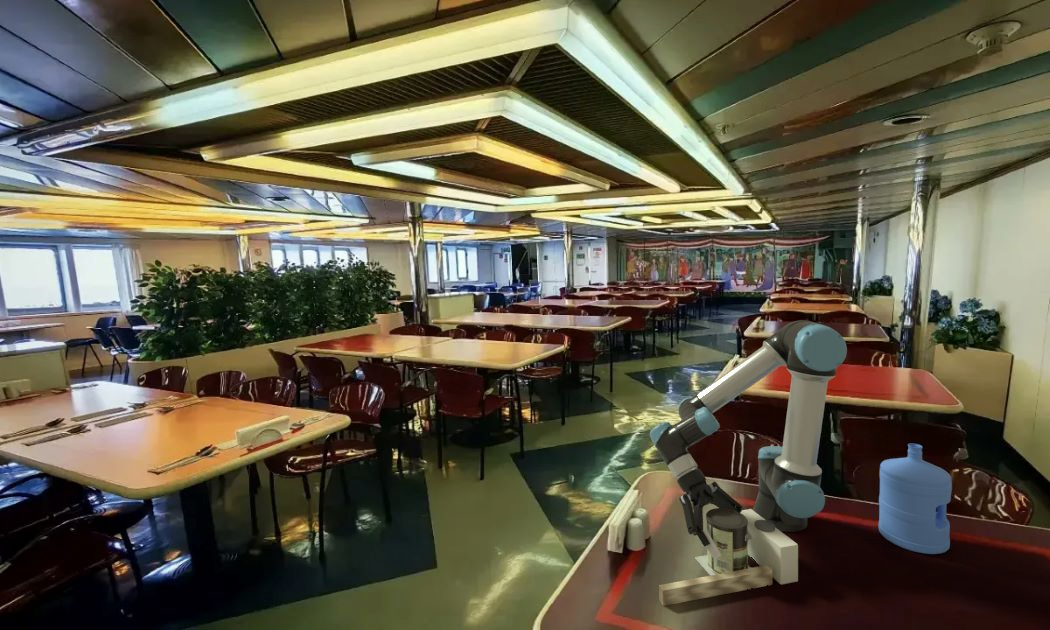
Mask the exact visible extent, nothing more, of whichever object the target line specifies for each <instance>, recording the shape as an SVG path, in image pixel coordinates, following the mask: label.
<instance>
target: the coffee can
mask: <svg viewBox="0 0 1050 630" xmlns="http://www.w3.org/2000/svg"><path fill="white" fill-rule="evenodd" d="M705 518H706V530H707V532H708V533H709V535H710V537H711V538H712V540H713V542H714V543H715V545H716V546H717V548H718V550H719V551H720V553H721V556H720V557H718V558H716V559H713V557H712V556H711V554H710V552H709V551H708V549H707V548H706V552H707V554H706V555H707V557H708V561H707V564H708V567H709V569H710V570H711V571H712V572H714V573H715V574H722V573H727V572H732V571H738V570H743V569H748V565H749V562H748V561H749V560H748V559H749V555H748V536H747V534H748V533H747V526H748V520H747V518H746V517H745V516H744V515H743V514H741V513H739V512H737V511H735V510H731V509H726V508H719V507H717V508H712V509H710V510H708V511H707V512H706V513H705Z"/></svg>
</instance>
